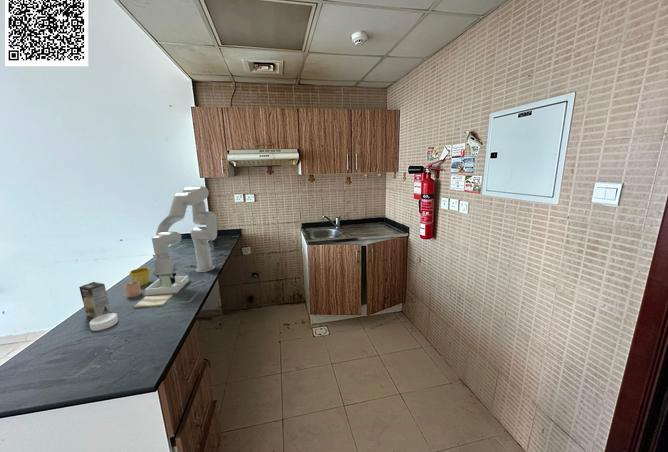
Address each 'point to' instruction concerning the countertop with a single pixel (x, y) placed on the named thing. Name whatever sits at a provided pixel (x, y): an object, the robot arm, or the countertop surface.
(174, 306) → the countertop surface
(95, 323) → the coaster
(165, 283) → the sage block
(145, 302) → the pad
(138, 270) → the plant pot
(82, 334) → the countertop surface
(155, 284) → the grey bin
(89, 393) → the countertop surface
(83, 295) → the coffee box
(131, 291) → the terracotta cup
